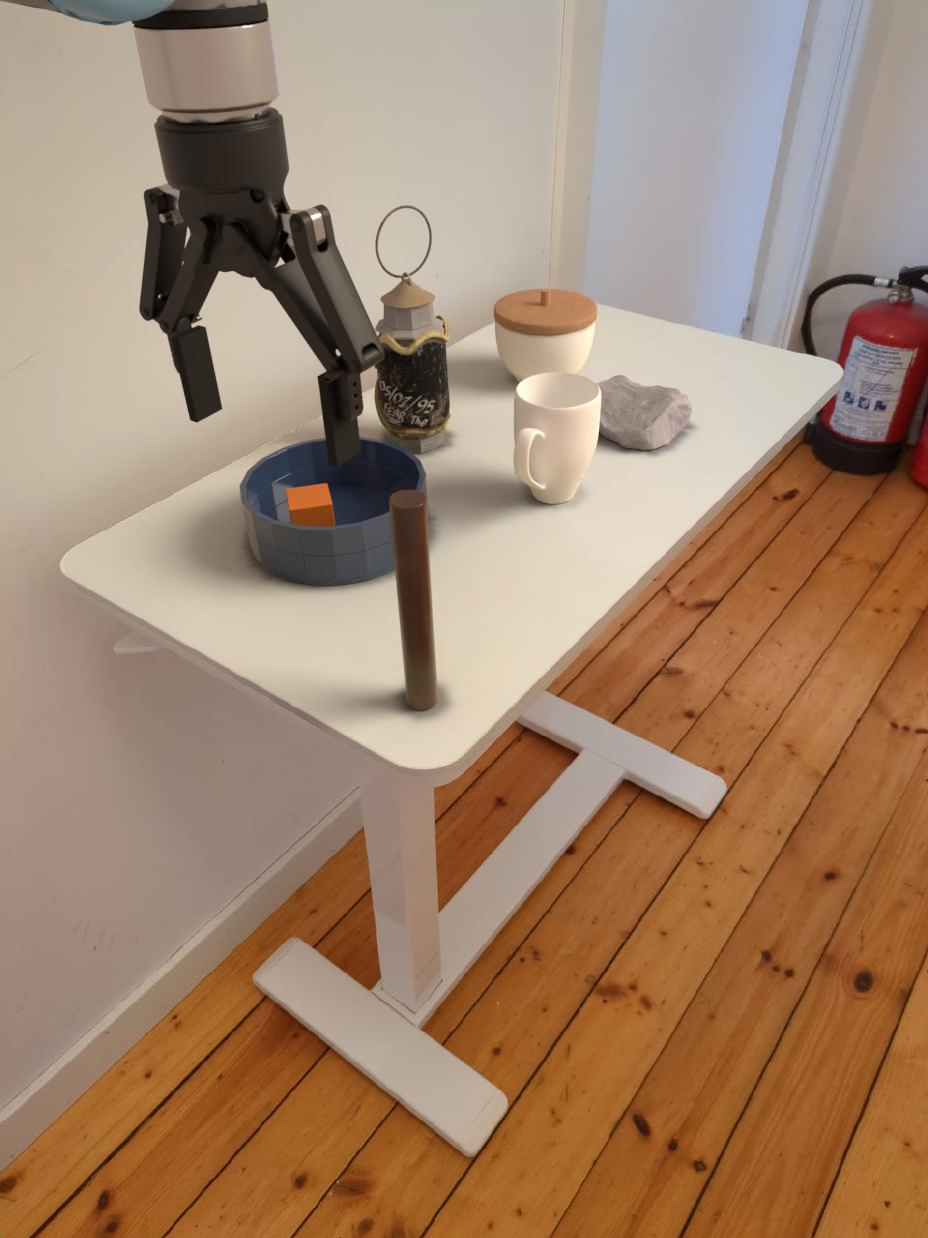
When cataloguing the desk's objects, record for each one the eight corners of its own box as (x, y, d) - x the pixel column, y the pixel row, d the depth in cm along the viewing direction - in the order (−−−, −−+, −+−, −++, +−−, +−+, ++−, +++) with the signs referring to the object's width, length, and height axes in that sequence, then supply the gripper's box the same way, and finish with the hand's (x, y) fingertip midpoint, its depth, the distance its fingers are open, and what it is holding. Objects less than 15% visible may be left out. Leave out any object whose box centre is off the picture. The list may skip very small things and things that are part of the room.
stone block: (650, 470, 99) (697, 421, 103) (649, 434, 95) (697, 385, 100) (563, 442, 105) (610, 397, 110) (558, 407, 102) (607, 362, 106)
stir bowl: (257, 599, 79) (245, 543, 76) (246, 501, 93) (235, 449, 89) (445, 568, 82) (443, 513, 79) (409, 477, 95) (406, 426, 92)
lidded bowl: (612, 382, 113) (620, 294, 106) (528, 407, 108) (531, 316, 101) (555, 349, 121) (558, 266, 114) (475, 370, 116) (474, 285, 110)
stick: (410, 713, 68) (392, 511, 57) (404, 692, 70) (385, 492, 58) (440, 707, 68) (429, 505, 57) (434, 686, 70) (421, 486, 59)
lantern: (405, 464, 98) (387, 222, 82) (364, 438, 103) (340, 205, 87) (467, 439, 102) (462, 204, 86) (425, 415, 107) (413, 189, 91)
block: (295, 546, 85) (289, 510, 82) (291, 523, 88) (285, 488, 85) (337, 539, 85) (332, 503, 83) (331, 517, 89) (327, 482, 86)
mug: (535, 466, 97) (538, 365, 90) (606, 484, 93) (615, 381, 86) (481, 519, 89) (479, 413, 82) (557, 541, 85) (562, 433, 78)
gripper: (427, 115, 50) (441, 455, 63) (123, 85, 61) (189, 381, 74) (343, 140, 45) (377, 503, 58) (28, 103, 56) (118, 417, 69)
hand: (272, 435), depth 66 cm, fingers open, 13 cm apart
